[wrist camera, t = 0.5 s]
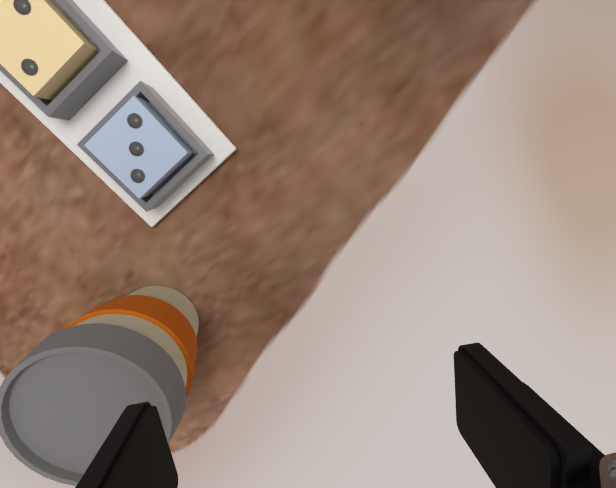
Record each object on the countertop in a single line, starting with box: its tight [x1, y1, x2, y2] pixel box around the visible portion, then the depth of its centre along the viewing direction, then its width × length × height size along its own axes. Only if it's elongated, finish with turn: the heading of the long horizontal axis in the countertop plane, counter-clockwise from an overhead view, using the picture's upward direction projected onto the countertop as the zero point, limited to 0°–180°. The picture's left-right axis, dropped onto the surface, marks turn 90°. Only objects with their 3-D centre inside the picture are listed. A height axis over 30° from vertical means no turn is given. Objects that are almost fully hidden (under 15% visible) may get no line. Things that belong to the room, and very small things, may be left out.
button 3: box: [84, 96, 194, 199], centre depth 30 cm, size 6×6×3 cm
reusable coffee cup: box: [0, 286, 199, 486], centre depth 31 cm, size 13×13×15 cm
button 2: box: [0, 0, 100, 101], centre depth 27 cm, size 6×6×3 cm
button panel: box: [0, 0, 237, 227], centre depth 29 cm, size 12×32×4 cm, turn 41°
